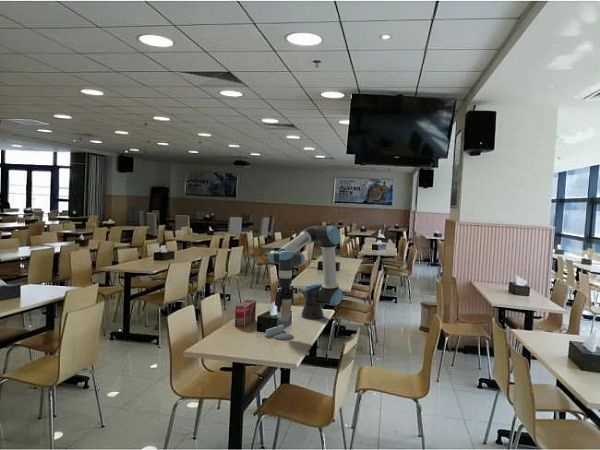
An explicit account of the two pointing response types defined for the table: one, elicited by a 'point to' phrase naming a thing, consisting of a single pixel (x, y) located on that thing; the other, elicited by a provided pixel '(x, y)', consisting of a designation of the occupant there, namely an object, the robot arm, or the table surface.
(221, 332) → the table surface
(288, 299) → the coffee cup
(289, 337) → the coaster
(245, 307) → the ice cream box
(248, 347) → the table surface
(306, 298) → the robot arm
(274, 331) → the grey bar handle
